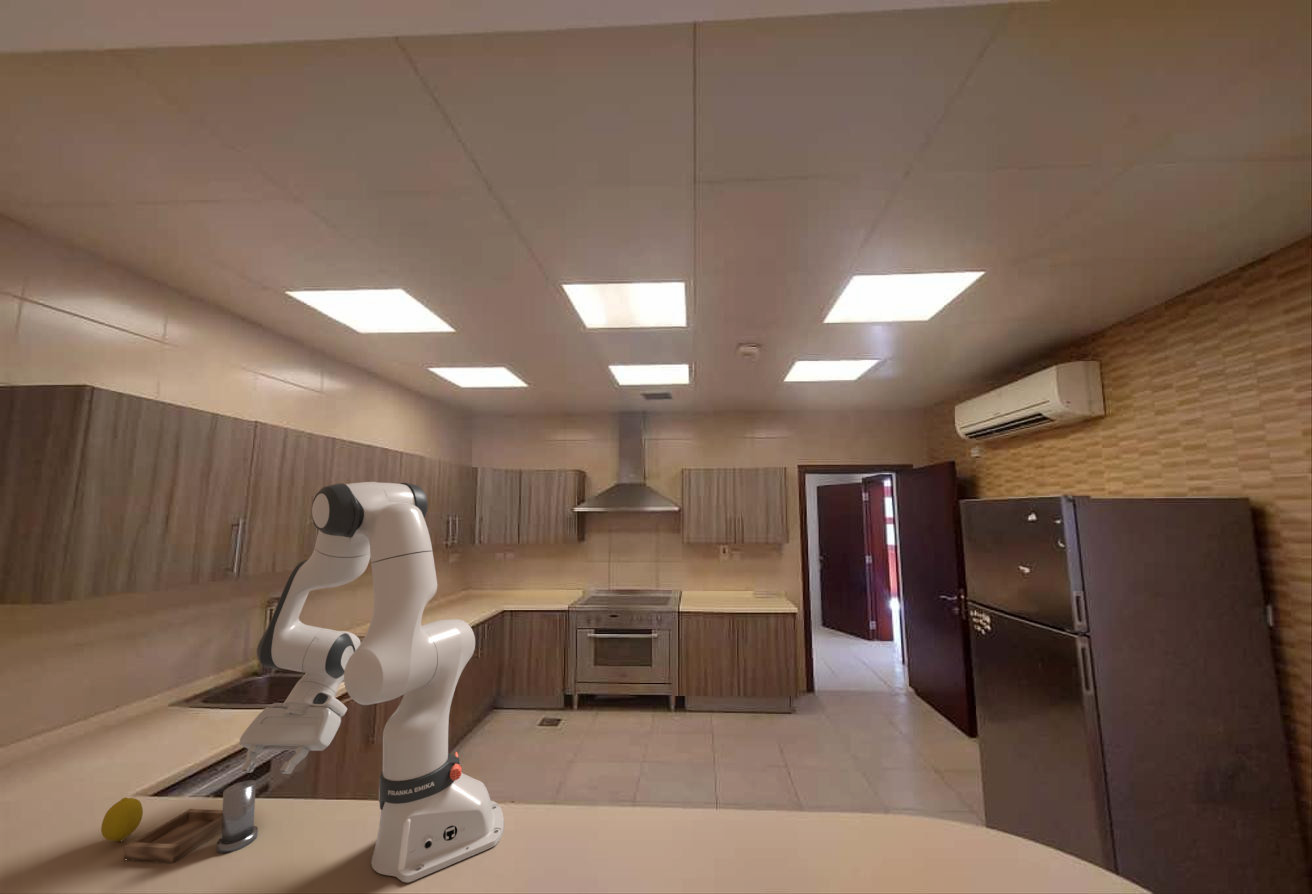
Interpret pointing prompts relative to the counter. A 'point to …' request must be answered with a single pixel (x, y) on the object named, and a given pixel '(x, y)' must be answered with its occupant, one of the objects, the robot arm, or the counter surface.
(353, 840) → the counter surface
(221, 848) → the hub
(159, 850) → the tray
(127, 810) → the lemon
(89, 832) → the counter surface
